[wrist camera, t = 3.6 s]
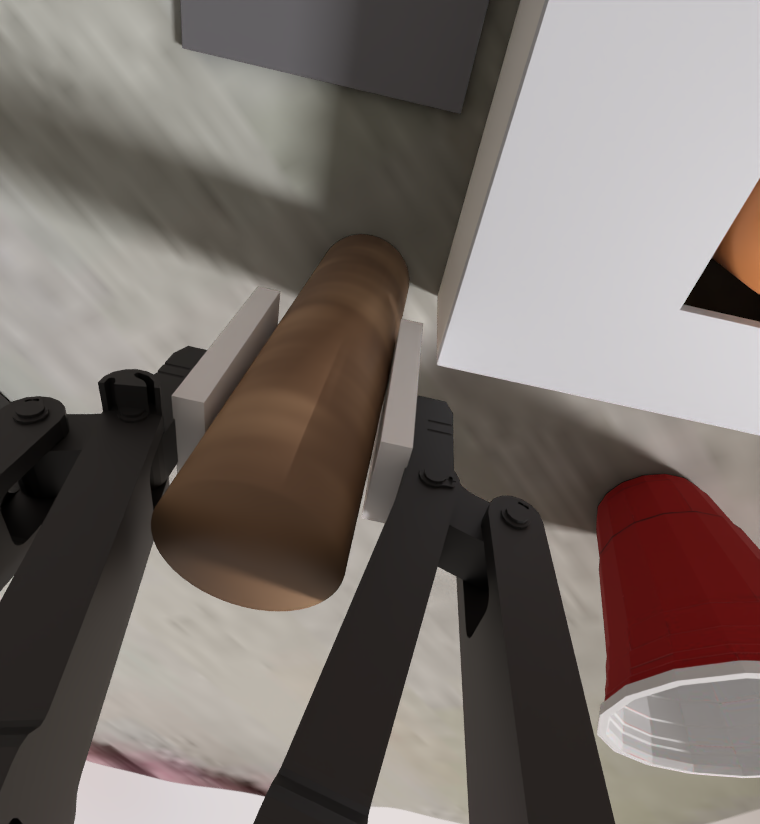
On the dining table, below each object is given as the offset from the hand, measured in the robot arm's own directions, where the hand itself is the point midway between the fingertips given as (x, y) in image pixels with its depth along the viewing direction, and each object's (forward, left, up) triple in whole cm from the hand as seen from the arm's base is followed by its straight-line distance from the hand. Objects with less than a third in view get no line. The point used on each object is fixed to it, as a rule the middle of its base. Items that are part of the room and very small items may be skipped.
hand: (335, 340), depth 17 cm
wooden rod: (0, 0, -6) cm, 6 cm away
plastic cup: (+19, -10, -6) cm, 22 cm away
